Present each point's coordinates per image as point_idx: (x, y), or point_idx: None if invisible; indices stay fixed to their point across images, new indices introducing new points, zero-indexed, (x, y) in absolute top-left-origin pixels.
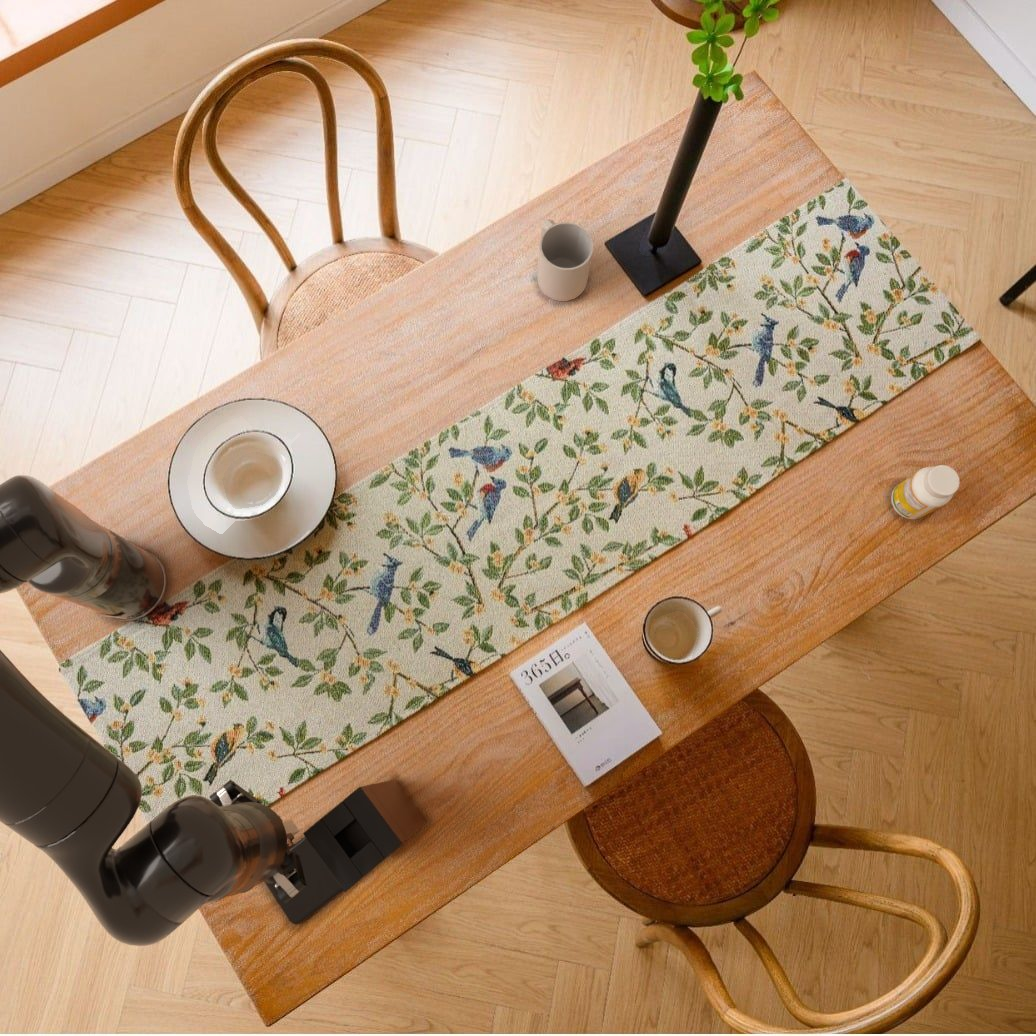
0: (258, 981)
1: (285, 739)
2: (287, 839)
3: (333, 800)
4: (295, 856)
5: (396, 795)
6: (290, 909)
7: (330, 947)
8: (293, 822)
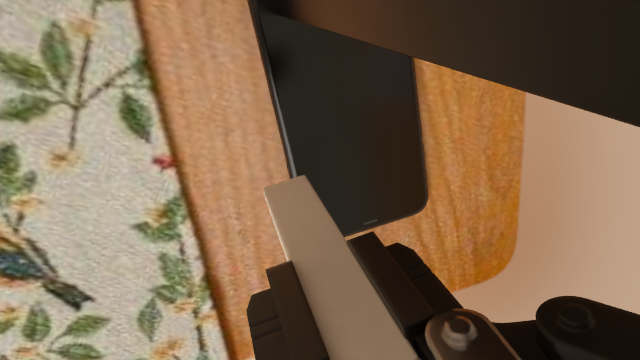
0: (465, 280)
1: (26, 117)
2: (458, 339)
3: (229, 52)
4: (604, 345)
5: None
6: (399, 209)
7: (487, 157)
8: (273, 185)
